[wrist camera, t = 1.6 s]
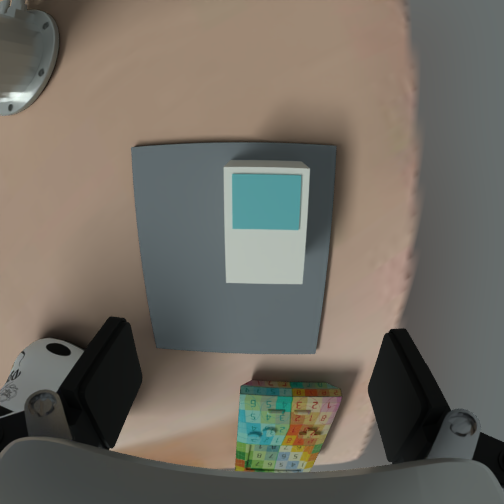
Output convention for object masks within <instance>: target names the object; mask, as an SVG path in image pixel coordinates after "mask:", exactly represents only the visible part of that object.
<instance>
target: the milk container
mask: <svg viewBox="0 0 504 504" xmlns="http://www.w3.org/2000/svg"><path fill="white" fill-rule="evenodd" d="M84 351H85V350H84V349H82V348H80V347H78V346H76V345H74V344H72V343H70V342H68V341H65V340H61V339H56V338H44V339H39V340H37V341H35V342H33V343H32V344H30V345H29V346H28V347H26V348H25V349H24V350H23V351H22V352H21V353H20V354H19V355H18V357H17V359H16V360H15V362H14V364H13V367H12V370H11V372H10V375H9V377H8V380H7V382H6V383H5V385H4V386H3V387H2V389H1V390H0V418H2V417H6V416H9V415H12V414H15V413H18V412H21V411H24V405H25V402H26V400H27V398H28V397H29V396H30V395H31V394H33V393H34V392H36V391H39V390H44V389H46V390H52V391H54V392H57V390H58V389H59V387H60V385H61V384H62V382H63V381H64V379H65V378H66V376H67V375H68V374H69V372H70V371H71V369H72V368H73V366H74V365H75V363H76V362H77V361H78V359H79V358H80V356H81V355H82V354H83V352H84Z"/></svg>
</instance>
